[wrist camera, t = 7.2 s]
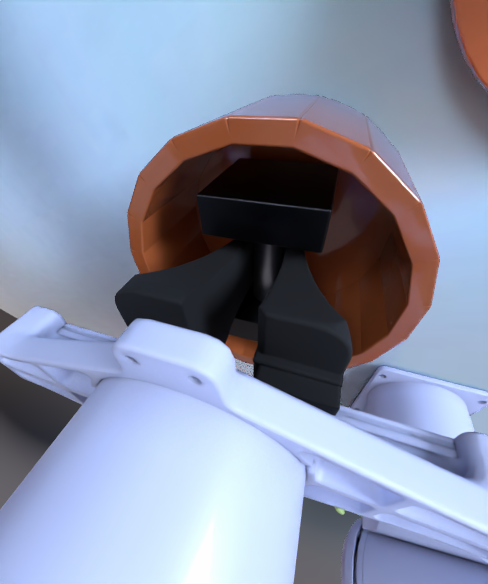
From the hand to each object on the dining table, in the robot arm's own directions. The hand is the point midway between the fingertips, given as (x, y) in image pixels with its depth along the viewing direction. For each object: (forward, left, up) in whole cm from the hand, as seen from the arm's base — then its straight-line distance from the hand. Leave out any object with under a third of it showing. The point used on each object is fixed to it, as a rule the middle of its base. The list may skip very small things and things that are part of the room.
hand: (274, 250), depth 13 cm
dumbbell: (0, 0, -1) cm, 1 cm away
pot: (0, 0, -3) cm, 3 cm away
